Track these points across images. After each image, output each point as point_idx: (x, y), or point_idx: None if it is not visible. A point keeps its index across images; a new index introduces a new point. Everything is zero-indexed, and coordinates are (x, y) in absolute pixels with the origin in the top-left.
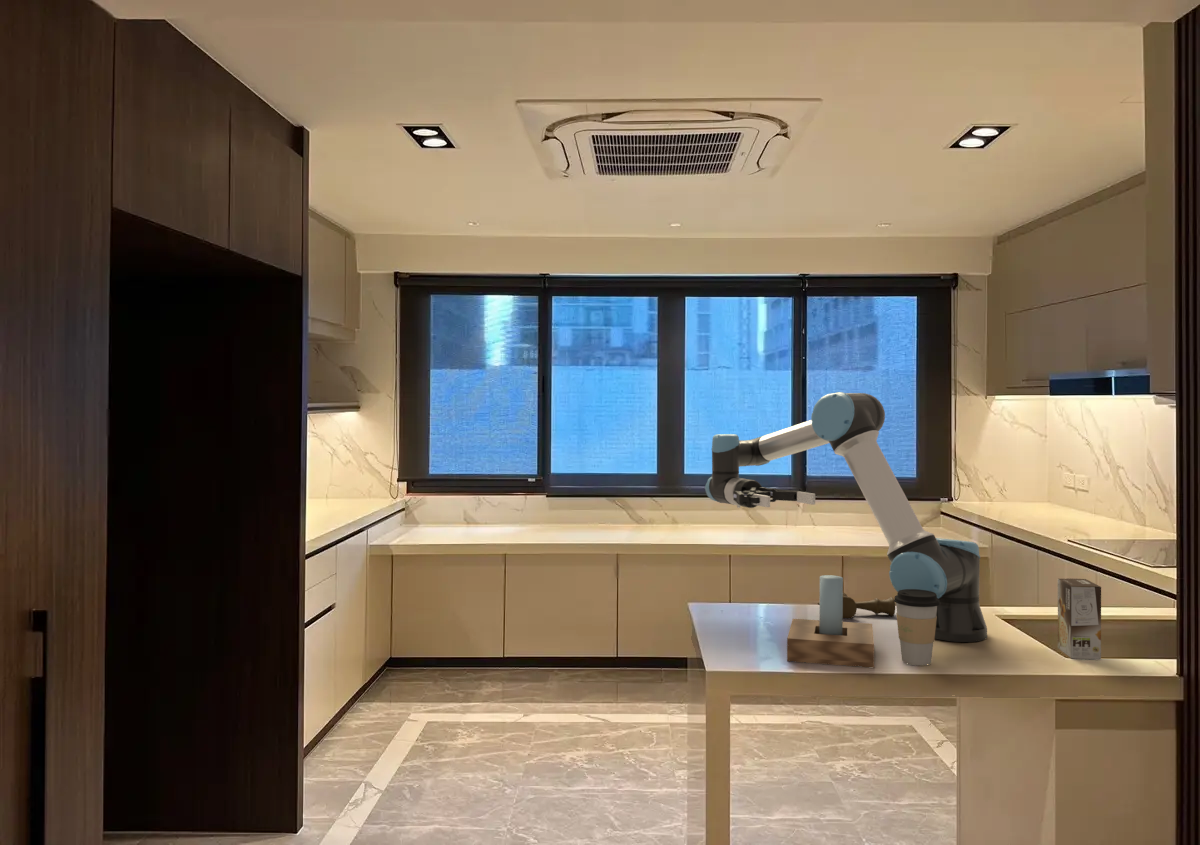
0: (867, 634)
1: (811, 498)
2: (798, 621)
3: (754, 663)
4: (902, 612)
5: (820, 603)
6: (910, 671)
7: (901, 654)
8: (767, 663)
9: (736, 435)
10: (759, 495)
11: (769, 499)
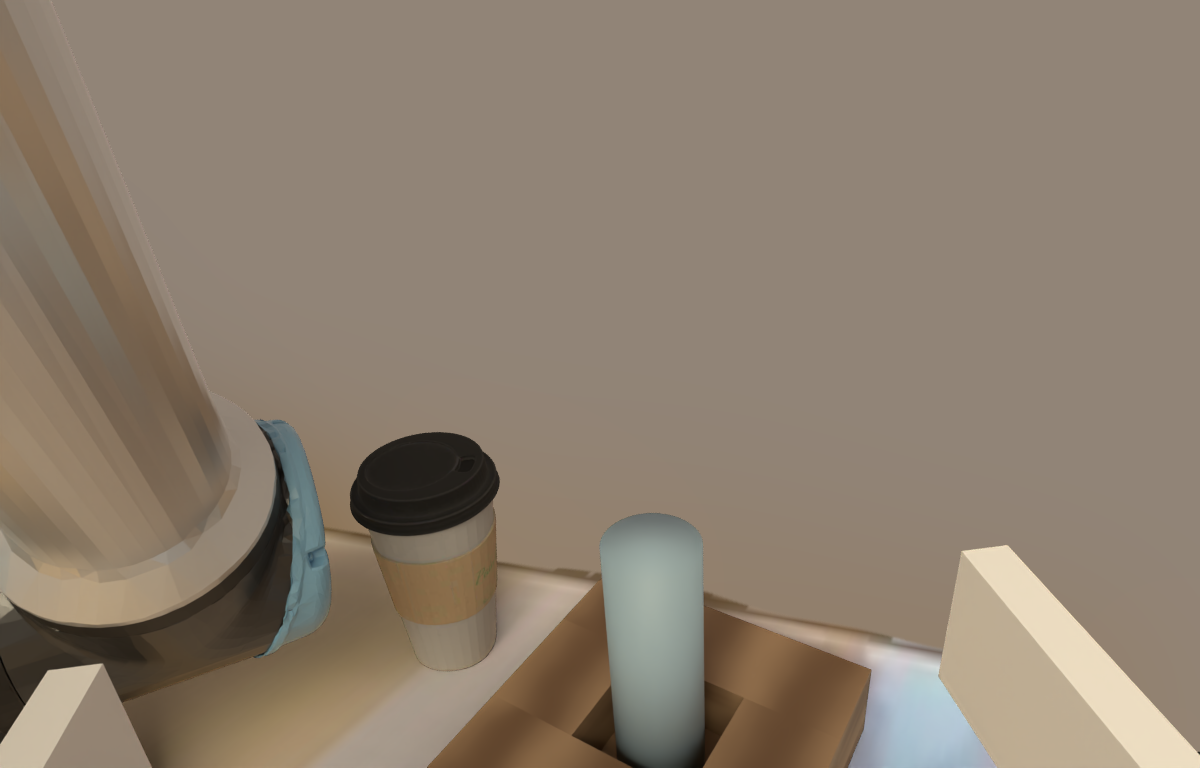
0: (557, 649)
1: (117, 749)
2: None
3: None
4: (492, 506)
5: (703, 637)
6: (536, 586)
7: (486, 641)
8: (942, 725)
9: None
10: (1173, 736)
11: (965, 587)
